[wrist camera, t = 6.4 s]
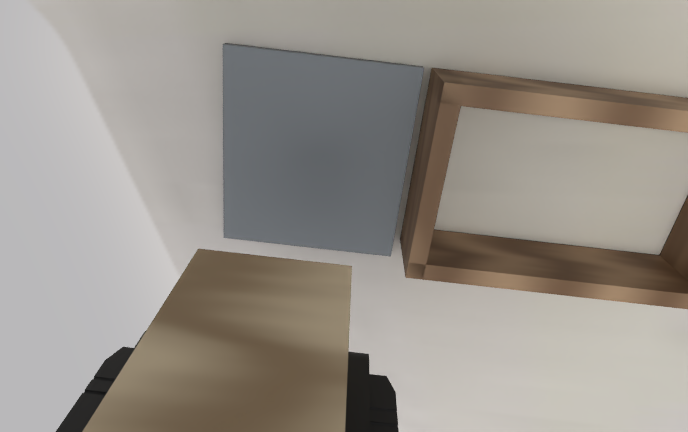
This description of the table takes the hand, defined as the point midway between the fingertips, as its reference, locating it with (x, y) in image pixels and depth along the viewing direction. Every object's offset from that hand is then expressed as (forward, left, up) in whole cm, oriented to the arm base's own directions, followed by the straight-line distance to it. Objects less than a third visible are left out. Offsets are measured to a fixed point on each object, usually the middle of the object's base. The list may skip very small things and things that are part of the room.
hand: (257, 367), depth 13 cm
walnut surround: (+15, 0, -18) cm, 23 cm away
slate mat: (0, 0, -18) cm, 18 cm away
